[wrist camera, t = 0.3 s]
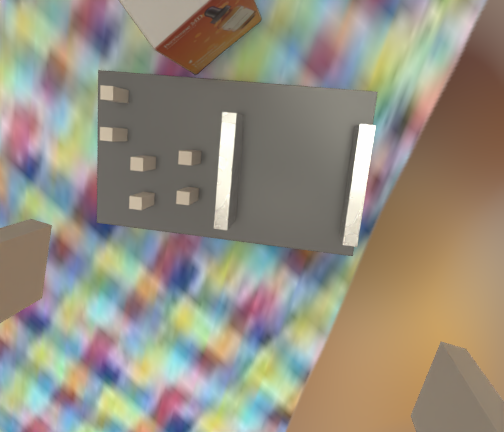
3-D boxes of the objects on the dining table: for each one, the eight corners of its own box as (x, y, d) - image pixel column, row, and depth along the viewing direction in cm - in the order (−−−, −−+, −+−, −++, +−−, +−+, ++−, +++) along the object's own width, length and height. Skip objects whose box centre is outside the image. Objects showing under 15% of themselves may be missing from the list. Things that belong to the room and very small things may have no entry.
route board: (103, 72, 38) (80, 64, 35) (375, 93, 35) (383, 87, 31) (102, 220, 42) (80, 229, 38) (351, 253, 38) (355, 266, 34)
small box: (196, 76, 37) (152, 53, 27) (160, 26, 37) (102, -17, 27) (264, 20, 35) (244, -28, 25) (228, -34, 35) (193, -104, 25)
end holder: (232, 114, 36) (222, 111, 33) (368, 126, 35) (375, 125, 31) (223, 219, 39) (213, 228, 35) (352, 235, 37) (357, 246, 33)
